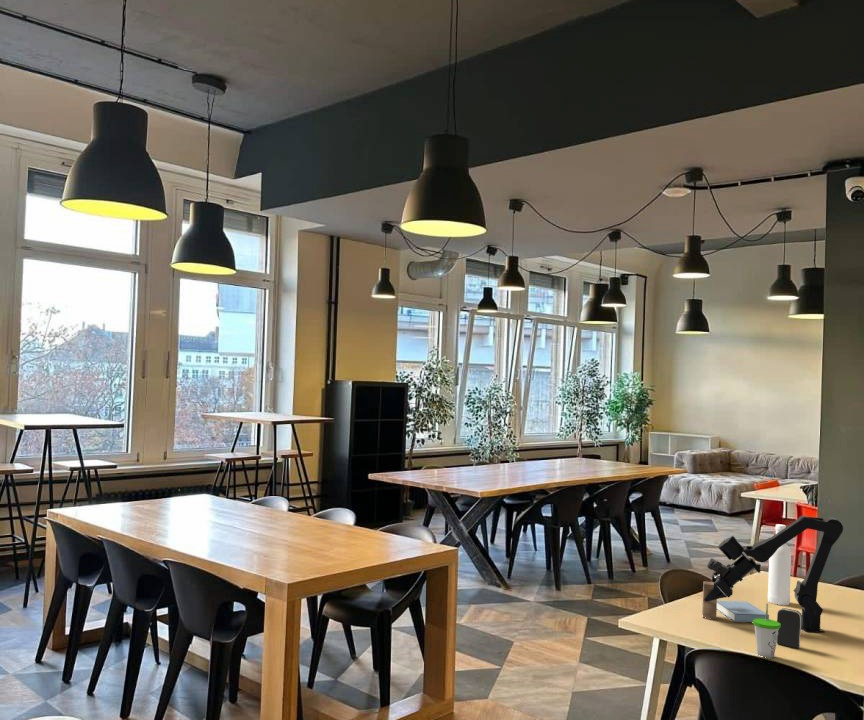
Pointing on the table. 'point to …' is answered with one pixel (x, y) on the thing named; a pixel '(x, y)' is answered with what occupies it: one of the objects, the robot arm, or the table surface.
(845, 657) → the table surface
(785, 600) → the bottle
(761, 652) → the cup
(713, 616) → the brown wooden block
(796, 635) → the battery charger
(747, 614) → the book
